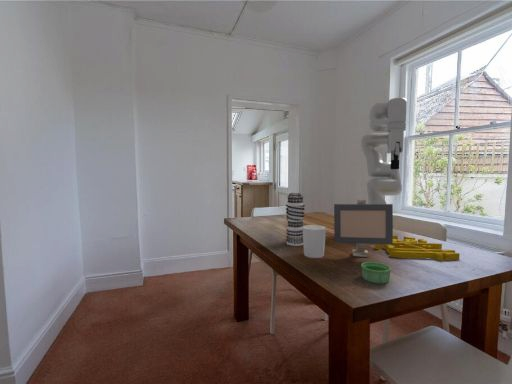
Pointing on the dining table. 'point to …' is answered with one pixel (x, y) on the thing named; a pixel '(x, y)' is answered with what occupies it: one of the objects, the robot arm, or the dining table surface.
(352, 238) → the picture frame
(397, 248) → the decorative art
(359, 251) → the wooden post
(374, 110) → the robot arm
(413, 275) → the dining table surface
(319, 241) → the candle holder
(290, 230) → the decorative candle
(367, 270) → the ramekin
